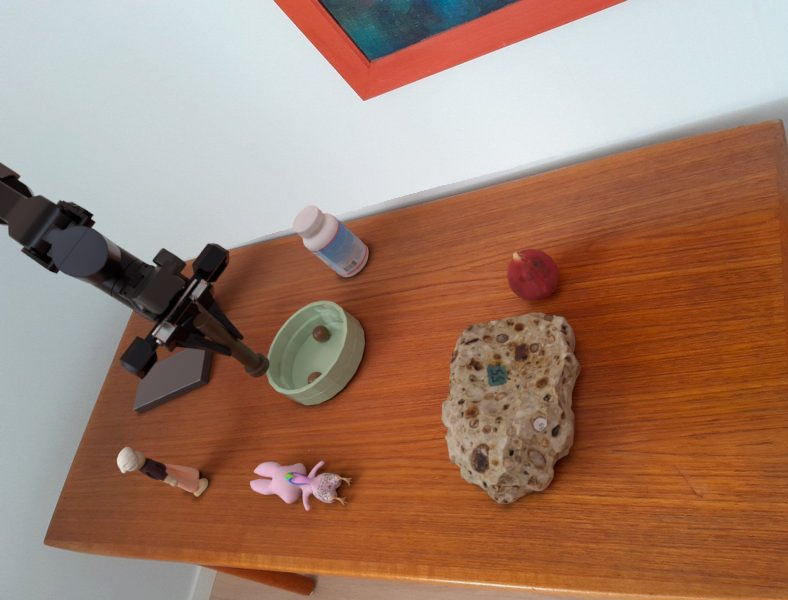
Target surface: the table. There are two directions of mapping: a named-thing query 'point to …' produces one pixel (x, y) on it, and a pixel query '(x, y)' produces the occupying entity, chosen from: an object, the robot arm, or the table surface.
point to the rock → (511, 403)
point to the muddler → (232, 345)
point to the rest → (173, 378)
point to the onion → (532, 274)
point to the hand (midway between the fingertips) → (237, 346)
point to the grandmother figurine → (162, 471)
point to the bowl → (315, 353)
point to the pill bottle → (331, 241)
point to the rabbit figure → (297, 483)
